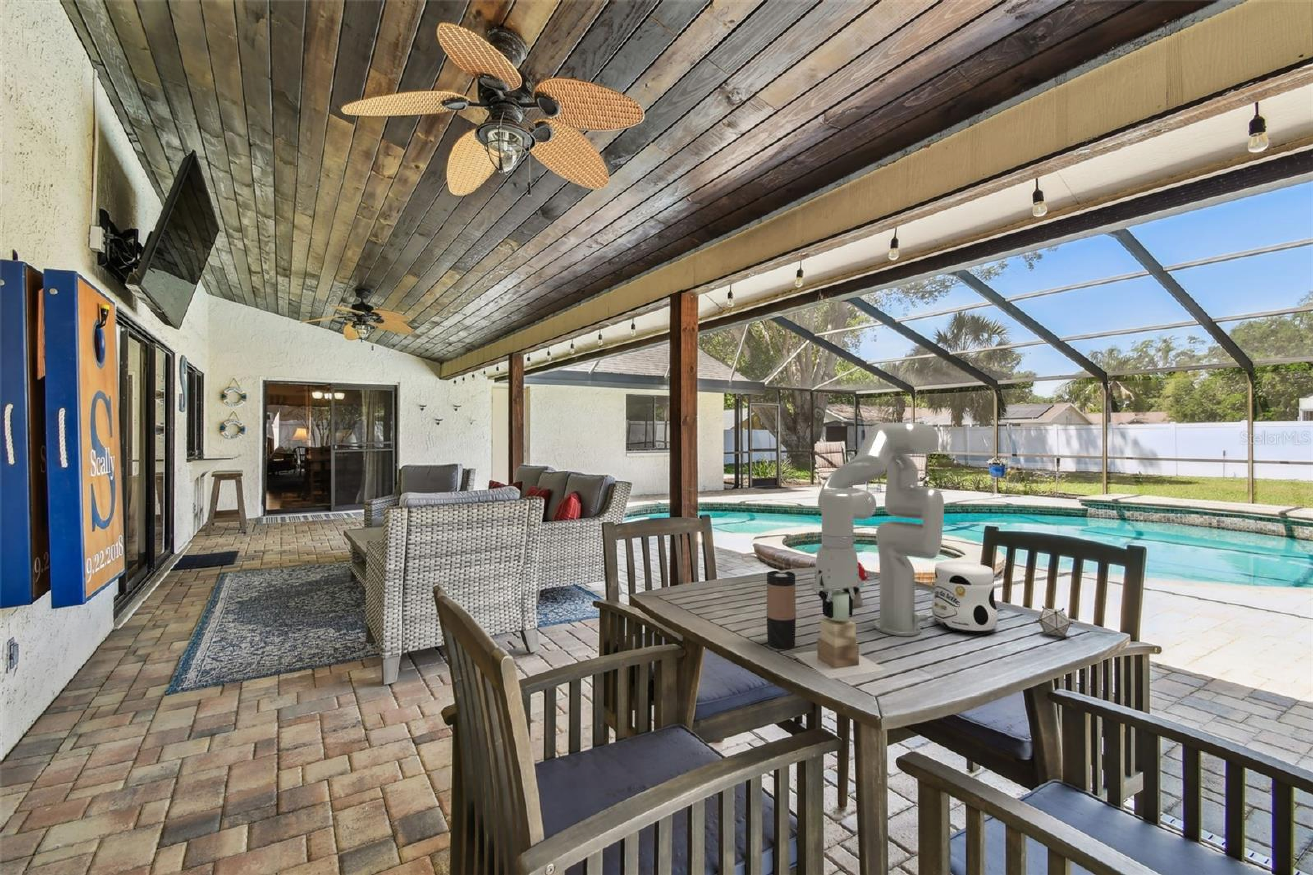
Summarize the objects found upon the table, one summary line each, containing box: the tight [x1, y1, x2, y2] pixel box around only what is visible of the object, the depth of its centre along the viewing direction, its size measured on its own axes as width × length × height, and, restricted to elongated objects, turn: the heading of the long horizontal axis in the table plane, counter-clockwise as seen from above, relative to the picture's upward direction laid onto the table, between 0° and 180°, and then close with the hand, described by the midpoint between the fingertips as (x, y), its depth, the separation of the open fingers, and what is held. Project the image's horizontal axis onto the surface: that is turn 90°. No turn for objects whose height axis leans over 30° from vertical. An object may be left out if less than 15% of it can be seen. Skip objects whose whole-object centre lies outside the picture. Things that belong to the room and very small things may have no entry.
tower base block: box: [816, 637, 860, 669], centre depth 142 cm, size 7×7×5 cm
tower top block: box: [819, 617, 857, 647], centre depth 142 cm, size 6×6×5 cm
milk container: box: [931, 561, 999, 634], centre depth 170 cm, size 17×17×18 cm
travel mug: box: [766, 570, 797, 651], centre depth 154 cm, size 8×8×20 cm
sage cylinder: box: [826, 590, 850, 621], centre depth 142 cm, size 5×5×6 cm
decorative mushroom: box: [853, 561, 869, 608], centre depth 194 cm, size 10×9×15 cm
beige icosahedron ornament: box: [1035, 605, 1075, 640], centre depth 163 cm, size 9×8×10 cm
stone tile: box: [792, 650, 888, 680], centre depth 142 cm, size 16×16×1 cm
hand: (837, 614), depth 142 cm, fingers closed on sage cylinder, 5 cm apart
